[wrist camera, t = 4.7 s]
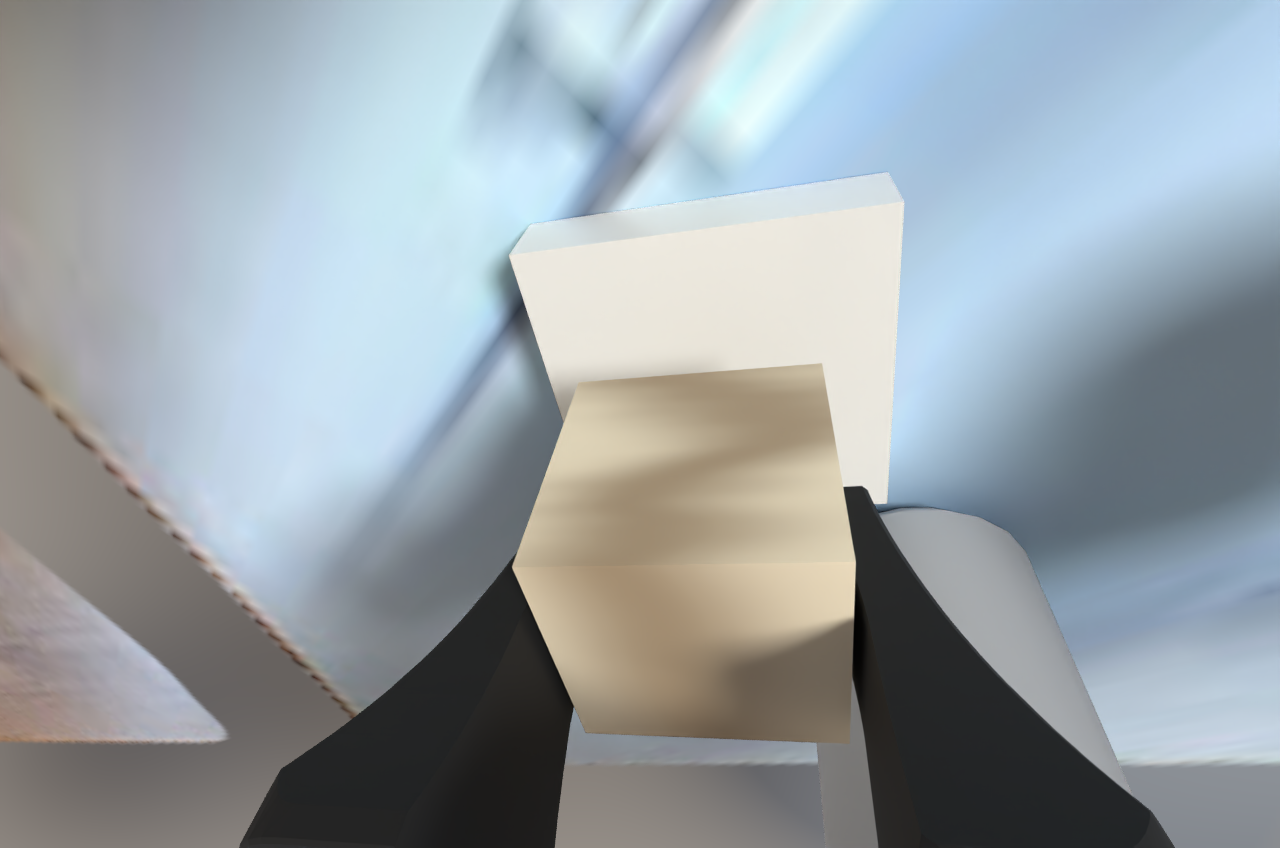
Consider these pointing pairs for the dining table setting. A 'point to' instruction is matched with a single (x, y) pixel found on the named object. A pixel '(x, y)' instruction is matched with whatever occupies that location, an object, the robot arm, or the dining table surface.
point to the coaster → (732, 298)
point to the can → (996, 627)
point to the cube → (698, 558)
